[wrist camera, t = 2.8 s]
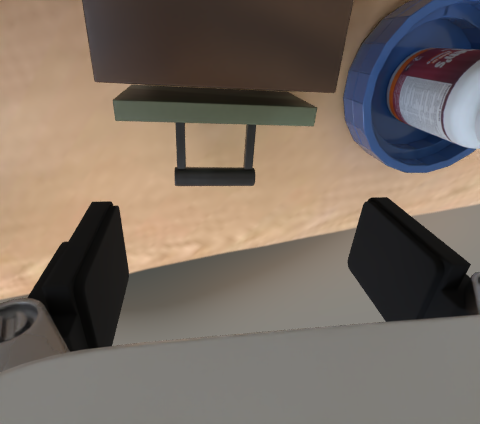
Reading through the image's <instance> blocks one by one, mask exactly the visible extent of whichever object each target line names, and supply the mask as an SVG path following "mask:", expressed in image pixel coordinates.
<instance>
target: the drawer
mask: <svg viewBox="0 0 480 424" xmlns="http://www.w3.org/2000/svg"><path fill="white" fill-rule="evenodd" d="M113 106H114V114H115V120H116V121H144V122H176V146H177V167H175V186H253V185H254V183H255V170H254V168H252V167H253V155H254V143H255V132H256V125H288V126H314V123H315V117H316V112H317V107H315V106H313V105H311V104H309V103H308V102H306V101H304V100H302V99H300V98H298V97H296V96H295V95H293V94H291V93H289V92H283V91H261V90H239V89H217V88H195V87H173V86H151V85H131V86H130V87H128V88H127V89H126V90H125V91H123V92H122V93H121V94H120V95H118V96H117V97H116V98H115V99H113ZM185 123H216V124H247V125H246V139H245V153H244V168H218V167H186V156H185Z"/></svg>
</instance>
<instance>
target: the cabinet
mask: <svg viewBox="0 0 480 424" xmlns="http://www.w3.org/2000/svg"><path fill="white" fill-rule="evenodd" d="M82 3H83V10H84V16H85V22H86V29H87V35H88V42H89V48H90V55H91V61H92V68H93V74H94V80H95V82H104V83H126V84H148V85H170V86H191V87H213V88H235V89H257V90H279V91H300V92H322V93H335V91H336V86H337V81H338V76H339V70H340V65H341V60H342V55H343V50H344V45H345V40H346V35H347V30H348V25H349V20H350V15H351V10H352V5H353V0H82Z"/></svg>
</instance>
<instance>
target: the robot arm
mask: <svg viewBox="0 0 480 424" xmlns="http://www.w3.org/2000/svg"><path fill="white" fill-rule="evenodd" d="M470 265H471V264H470V263H468V262H467V261H466V260H465V259H464V258H462V257H461V256H460V255H458V254H457V253H456V252H455V251H454V250H452V249H451V248H450V247H449V246H447V245H446V244H445V243H444V242H442V241H441V240H440V239H438V238H437V237H436V236H435V235H434V234H432V233H431V232H430V231H429V230H427V229H426V228H425V227H424V226H422V225H421V224H420V223H419V222H417V221H416V220H415V219H414V218H412V217H411V216H410V215H409V214H407V213H406V212H405V211H404V210H402V209H401V208H400V207H399V206H397V205H396V204H395V203H394V202H392V201H391V200H390V199H389V198H387V197H384V198H370V199H369V200H368V201H367V202H365V203H364V205H363V208H362V211H361V215H360V218H359V222H358V225H357V229H356V233H355V236H354V240H353V243H352V247H351V250H350V254H349V257H348V267H349V269H350V271H351V272H352V274H353V275H354V276H355V278H356V279H357V281H358V282H359V283H360V285H361V286H362V288H363V289H364V291H365V292H366V294H367V295H368V296H369V298H370V299H371V301H372V302H373V303H374V305H375V306H376V308H377V309H378V311H379V312H380V314H381V315H382V316H383V318H384V319H385V321H386V322H378V323H364V324H352V325H340V326H328V327H315V328H304V329H291V330H279V331H268V332H257V333H245V334H234V335H222V336H212V337H200V338H188V339H177V340H166V341H155V342H144V343H133V344H126V345H117V346H112V344H113V339H114V336H115V332H116V328H117V323H118V319H119V315H120V311H121V307H122V303H123V299H124V295H125V291H126V287H127V283H128V278H129V270H128V263H127V256H126V250H125V243H124V237H123V230H122V223H121V217H120V210H119V207H118V206H113V204H112V202H92V203H91V205H90V206H89V208H88V210H87V211H86V213H85V215H84V216H83V218H82V220H81V221H80V223H79V225H78V227H77V228H76V230H75V232H74V233H73V235H72V237H71V238H70V240H69V242H63V243H62V244H61V245H60V246H59V248H58V250H57V251H56V253H55V254H54V256H53V258H52V259H51V261H50V262H49V264H48V266H47V267H46V269H45V270H44V272H43V274H42V275H41V277H40V278H39V280H38V282H37V283H36V285H35V287H34V288H33V290H32V291H31V293H30V295H29V296H28V298H20V299H13V300H9V301H7V302H3V303H0V424H480V272H476V273H474V274H473V275H472V276H471V278H470V277H469V276H468V275H466V273H467V271H468V269H469V267H470Z"/></svg>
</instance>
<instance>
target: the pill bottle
mask: <svg viewBox="0 0 480 424" xmlns="http://www.w3.org/2000/svg"><path fill="white" fill-rule="evenodd" d="M387 105H388V108H389V110H390V112H391V114H392V115H393V116H394V117H395V118H396V119H398V120H399V121H401V122H403V123H405V124H408V125H410V126H412V127H415V128H418V129H420V130H423V131H425V132H427V133H430V134H432V135H435V136H437V137H440V138H442V139H445V140H447V141H450V142H452V143H455V144H458V145H460V146H463V147H467V148H473V149H480V50H475V49H449V48H427V49H423V50H419V51H417V52H415V53H413V54H411V55H410V56H408V57H407V58H406V59H405V60H404V61H403V62H402V63H401V64H400V65H399V66H398V67H397V69H396V70H395V72H394V73H393V75H392V77H391V79H390V82H389V84H388V88H387Z"/></svg>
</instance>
